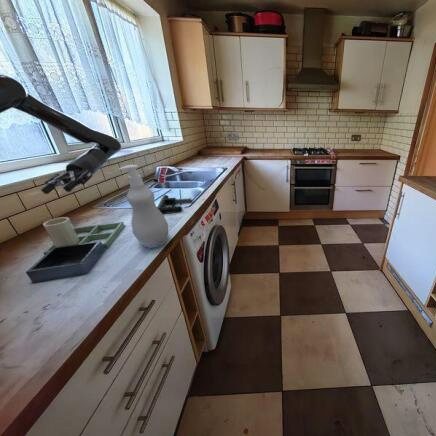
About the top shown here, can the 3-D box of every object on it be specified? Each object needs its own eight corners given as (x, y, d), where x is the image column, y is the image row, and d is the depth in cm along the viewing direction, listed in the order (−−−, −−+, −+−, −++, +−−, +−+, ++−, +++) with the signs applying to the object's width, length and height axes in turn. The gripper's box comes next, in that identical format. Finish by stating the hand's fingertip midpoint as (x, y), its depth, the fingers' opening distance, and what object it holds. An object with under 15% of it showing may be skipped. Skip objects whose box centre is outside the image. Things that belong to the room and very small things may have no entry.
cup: (53, 254, 80) (38, 226, 75) (64, 244, 86) (50, 218, 81) (75, 250, 82) (62, 224, 77) (84, 241, 88) (72, 216, 83)
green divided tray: (45, 257, 79) (42, 252, 78) (74, 231, 94) (71, 227, 94) (107, 248, 83) (105, 243, 82) (124, 225, 99) (123, 221, 98)
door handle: (191, 193, 129) (160, 194, 124) (188, 206, 112) (151, 209, 107) (192, 198, 130) (161, 200, 125) (189, 212, 113) (153, 215, 108)
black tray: (32, 282, 67) (25, 272, 65) (59, 256, 79) (54, 247, 77) (86, 273, 71) (81, 263, 69) (105, 250, 82) (100, 240, 81)
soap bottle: (136, 236, 91) (110, 163, 78) (168, 228, 97) (148, 159, 84) (139, 257, 78) (108, 174, 65) (175, 246, 84) (153, 168, 71)
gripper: (60, 160, 89) (26, 184, 78) (94, 156, 88) (64, 180, 77) (75, 175, 95) (45, 200, 83) (107, 172, 94) (81, 197, 82)
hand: (54, 191), depth 80 cm, fingers open, 8 cm apart
